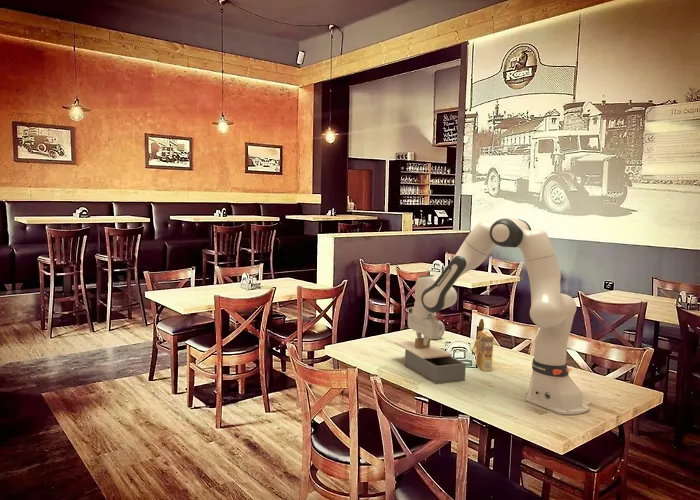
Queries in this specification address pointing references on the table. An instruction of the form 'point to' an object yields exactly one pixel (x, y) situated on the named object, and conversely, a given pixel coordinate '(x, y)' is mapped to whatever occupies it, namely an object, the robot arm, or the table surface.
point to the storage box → (436, 368)
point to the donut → (441, 329)
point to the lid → (422, 348)
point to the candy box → (484, 350)
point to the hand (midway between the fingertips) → (422, 343)
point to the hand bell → (481, 327)
